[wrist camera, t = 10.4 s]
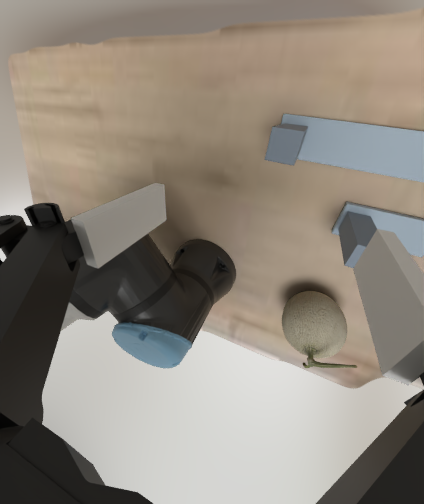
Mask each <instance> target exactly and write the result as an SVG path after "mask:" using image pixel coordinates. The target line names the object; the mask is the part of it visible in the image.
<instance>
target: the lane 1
mask: <svg viewBox="0 0 424 504" xmlns="http://www.w3.org/2000/svg"><path fill="white" fill-rule="evenodd" d="M297 159H299V160H305V161H310V162H316V163H321V164H326V165H332V166H337V167H343V168H348V169H354V170H359V171H365V172H370V173H375V174H381V175H386V176H392V177H397V178H403V179H408V180H414V181H419V182H424V131H416V130H408V129H400V128H393V127H385V126H377V125H369V124H361V123H354V122H346V121H338V120H330V119H322V118H315V117H307V116H299V115H291V114H283V118H282V122H281V125H277V126H274V127H272V131H271V135H270V140H269V144H268V148H267V152H266V157H265V160H268V161H273V162H278V163H283V164H288V165H294V164H295V162H296V160H297Z"/></svg>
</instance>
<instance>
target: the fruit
mask: <svg viewBox="0 0 424 504" xmlns="http://www.w3.org/2000/svg"><path fill="white" fill-rule="evenodd" d="M282 327H283V331H284V334H285V337H286V339H287V341H288V342H289V343H290V344H291V346H292V347H294V348H295V349H296V350H297V351H299V352H300V353H302V354H304V355H308V358H307V360H308V365H306V364H305V363H303V366H304V367H305V368H309V367H313V366H315V367H322V368H343V367H352V368H357V366H356V365H343V364H328V363H320V362H316V361H315V360H314V359H313V357H314V358H328V357H332V356H333V355H335V354H336V353H338V352H339V351H340V349H341V348H342V347H343V345H344V343H345V341H346V337H347V324H346V319H345V317H344V314H343V312H342V310H341V309H340V307H339V306H338V305H337V304H336V302H334V301H333V300H332V299H331V298H330V297H328V296H327V295H325V294H322V293H320V292H316V291H305V292H301V293H298V294H296V295H294V296H293V297H292V298H290V300H289V301H288V302H287V303H286V305H285V307H284V310H283V315H282Z"/></svg>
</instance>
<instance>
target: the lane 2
mask: <svg viewBox="0 0 424 504" xmlns="http://www.w3.org/2000/svg"><path fill="white" fill-rule="evenodd" d="M377 229H380V230H385V231H390V232H394V233H395V234H396V236H397V237H398V238H399V240H400V241H401V243H402V244H403V245H404V247H405V248H406V250H407V251H408V252H409V254H411V255H415V256H418V257H423V256H424V219H423V218H418V217H414V216H409V215H405V214H400V213H396V212H391V211H387V210H382V209H378V208H373V207H369V206H365V205H360V204H356V203H351V202H346V204H345V206H344V208H343V210H342V212H341V213H340V215H339V217H338V219H337V221H336V223H335V225H334V227H333V229H332V234H336V235H339V236H340V242H341V248H342V253H343V259H344V265H345V266H348V267H351V268H354V267H355V265H356V263H357V262H358V260H359V258H360V257H361V255H362V253H363V252H364V250H365V248H366V247H367V245H368V243H369V242H370V240H371V238H372V237H373V235H374V233H375V232H376V230H377Z"/></svg>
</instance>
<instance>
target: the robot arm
mask: <svg viewBox="0 0 424 504" xmlns="http://www.w3.org/2000/svg"><path fill="white" fill-rule="evenodd" d="M24 210H25V212H26V214H27V216H28V218H29V220H30V222H31V224H32V226H27V225H26V224H25V222H24V220H23V218H22V217H21V216H16V215H11V216H10V215H6V216H1V217H0V248H1V249H2V251H3V252H4V254H5V255H6V257H7V258H6V259H5V261H4V262H2V261H1V260H0V504H153V503H152V502H150V501H149V500H148V499H146V498H145V497H143V496H142V495H141V494H139V493H138V492H133V491H129V490H124V489H119V488H114V487H109V486H105V484H104V482H103V481H102V479H101V477H100V476H99V474H98V473H97V471H96V469H95V467H94V466H93V464H92V463H90V462H89V461H88V460H87V459H86V458H84V457H83V456H82V455H81V454H80V453H79V452H77V451H76V450H75V449H74V448H72V447H71V446H70V445H69V444H68V443H67V442H66V441H64V440H63V439H62V438H60V437H59V436H58V435H56V434H55V433H53V432H52V431H51V430H49V429H48V428H46V427H45V426H44V425H42V421H43V405H42V391H43V388H44V384H45V381H46V378H47V374H48V371H49V367H50V364H51V361H52V358H53V354H54V351H55V348H56V344H57V341H58V337H59V334H60V331H61V330H63V329H64V328H66V327H67V326H69V325H70V324H71V323H73V322H74V321H76V320H77V319H85V320H94V319H96V318H98V317H99V316H101V315H102V314H104V313H105V312H107V311H109V312H110V313H111V314H112V315H113V316H114V317H115V318H116V319H117V321H118V322H119V323H118V324H116V325H115V327H114V329H113V332H112V336H113V338H114V340H115V342H116V343H117V344H118V345H119V346H120V347H121V348H123V349H124V350H125V351H126V352H128V353H129V354H131V355H132V356H134V357H135V358H137V359H139V360H141V361H143V362H145V363H147V364H150V365H153V366H156V367H160V368H172V367H175V366H177V365H178V364H179V363H180V362H181V361H182V359H183V358H184V356H185V355H186V353H187V352H188V350H189V349H190V348H191V347H192V344H193V342H194V340H195V338H196V336H197V334H198V332H199V331H200V329H201V327H202V325H203V323H204V321H205V319H206V317H207V315H208V314H209V312H210V310H211V308H212V306H213V304H215V303H216V302H217V301H218V300H220V299H221V298H222V297H223V296H224V295H226V294H227V293H228V292H229V291H230V289H231V288H232V286H233V284H234V282H235V278H236V270H235V266H234V264H233V262H232V260H231V258H230V257H229V256H228V254H227V253H226V252H225V251H224V250H222V249H221V248H220V247H218V246H217V245H215V244H213V243H211V242H208V241H204V240H192V241H188V242H186V243H185V244H184V245H183V246H181V247H180V248H179V249H178V251H177V252H176V254H175V256H174V258H173V261H172V263H171V266H170V265H169V263H168V262H167V260H166V259H165V258H164V256H163V255H162V253H161V252H160V250H159V249H158V247H157V246H156V244H155V243H154V242H153V240H152V239H151V237H150V236H149V234H148V233H149V232H151V231H152V230H153V229H155V228H156V227H158V226H159V225H160V224H162V223H163V222H165V221H166V220H167V218H166V203H165V187H164V184H159V183H153V184H151V185H148V186H146V187H144V188H141V189H139V190H137V191H134V192H132V193H129V194H127V195H125V196H122V197H120V198H117V199H115V200H113V201H110V202H108V203H105V204H103V205H101V206H98V207H96V208H94V209H91V210H89V211H86V212H84V213H82V214H79V215H77V216H74V217H72V218H71V220H69V221H67V222H65V221H64V219H63V216H62V213H61V211H60V208H59V206H58V205H57V204H54V203H40V204H35V205H32V206H29V207H27V208H25V209H24ZM353 270H354V274H355V277H356V281H357V285H358V288H359V292H360V295H361V299H362V303H363V306H364V310H365V314H366V317H367V321H368V324H369V328H370V332H371V335H372V339H373V342H374V346H375V350H376V353H377V357H378V361H379V364H380V368H381V371H382V375H383V376H385V377H388V378H390V379H393V380H396V381H398V382H401V383H404V384H406V385H409V384H411V383H412V382H413V381H415V380H416V379H417V378H419V377H420V378H421V380H422V383H423V385H424V273H423V272H422V270H421V269H420V268H419V266H418V265H417V263H416V262H415V261H414V259H413V258H412V257H411V255H410V254H409V252H408V251H407V250H406V248H405V247H404V245H403V244H402V243H401V241H400V240H399V238H398V237H397V236H396V234H395V233H394V232H390V231H385V230H380V229H377V230H376V232H375V233H374V235H373V237H372V238H371V240H370V242H369V243H368V245H367V247H366V248H365V250H364V252H363V253H362V255H361V257H360V258H359V260H358V262H357V263H356V265H355V267H354V268H353ZM404 403H405V404H406V405H407V406H406V407H405V408H404V409H403V410H402V411H401V412H400V413H399V415H398V416H397V417H396V418H395V419H394V420H393V421H392V422H391V423H390V424H389V425H388V426H387V427H386V429H385V430H384V431H383V432H382V433H381V434H380V435H379V436H378V437H377V438H376V439H375V440H374V441H373V443H372V444H371V445H370V446H369V447H368V448H367V449H366V450H365V451H364V452H363V453H362V454H361V455H360V457H359V458H358V459H357V460H356V461H355V462H354V463H353V464H352V465H351V466H350V467H349V468H348V470H347V471H346V472H345V473H344V474H343V475H342V476H341V477H340V478H339V479H338V481H336V483H334V485H333V486H332V487H331V488H330V489H329V490H328V491H327V492H326V493H325V495H323V497H322V498H321V499H320V500H319V501H318V502H317V503H316V504H424V390H423V391H421V392H419V393H418V394H416V395H415V396H413V397H412V398H411V399H409V400H407V401H406V402H404Z"/></svg>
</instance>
